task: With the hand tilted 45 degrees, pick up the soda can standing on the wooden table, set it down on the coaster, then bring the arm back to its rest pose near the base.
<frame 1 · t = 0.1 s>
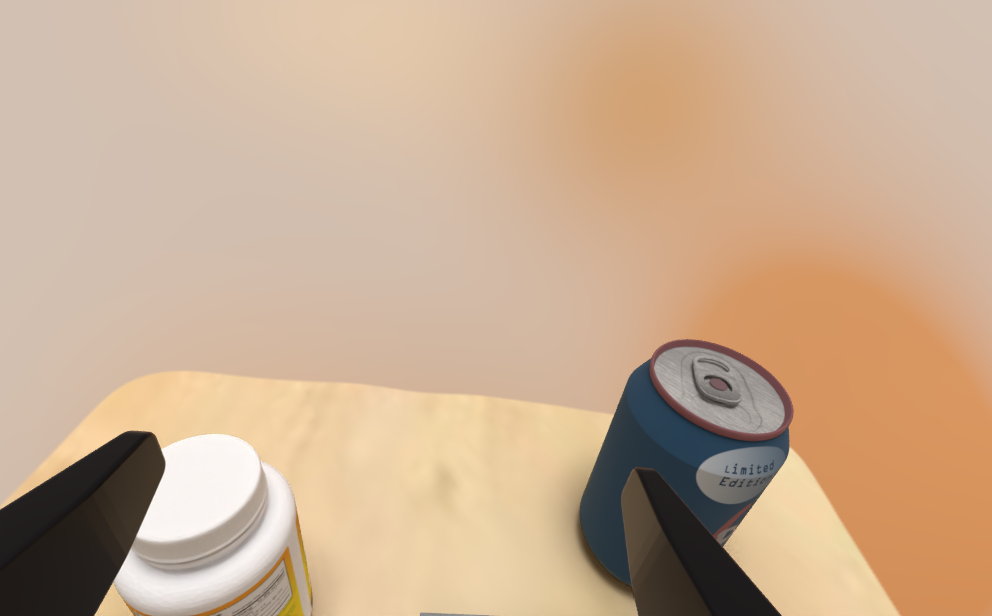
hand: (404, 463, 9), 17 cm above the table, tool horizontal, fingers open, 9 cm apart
soda can: (634, 540, 27), on the table
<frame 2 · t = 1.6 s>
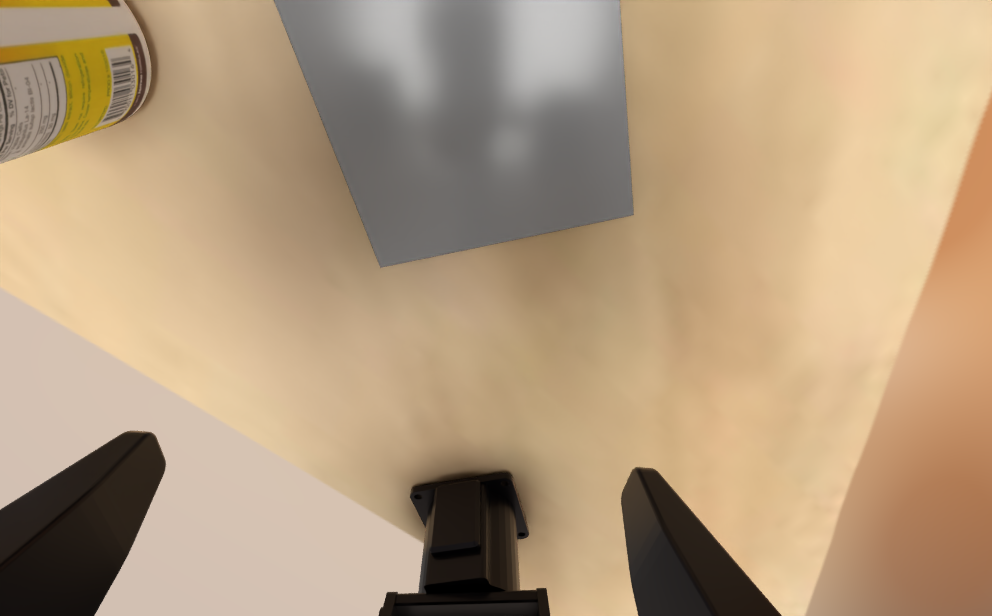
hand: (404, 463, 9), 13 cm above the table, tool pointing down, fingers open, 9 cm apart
supplement bottle: (78, 39, 17), on the table
coaster: (472, 104, 18), on the table
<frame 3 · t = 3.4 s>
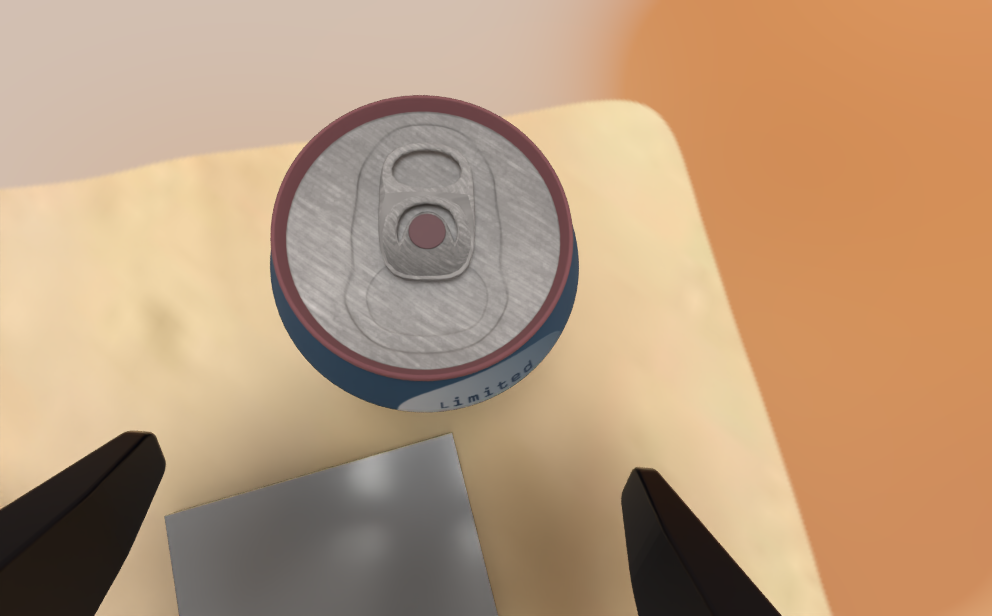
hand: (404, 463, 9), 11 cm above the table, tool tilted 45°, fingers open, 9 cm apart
soda can: (437, 327, 21), on the table
coaster: (348, 615, 18), on the table
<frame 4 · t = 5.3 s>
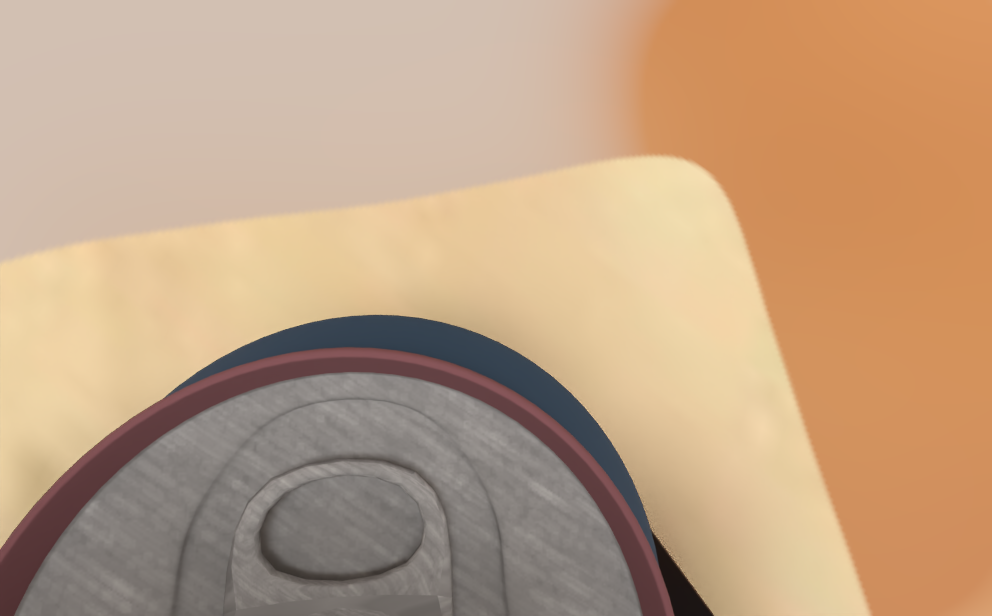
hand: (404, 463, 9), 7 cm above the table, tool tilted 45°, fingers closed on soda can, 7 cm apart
soda can: (419, 473, 15), on the table, touching gripper
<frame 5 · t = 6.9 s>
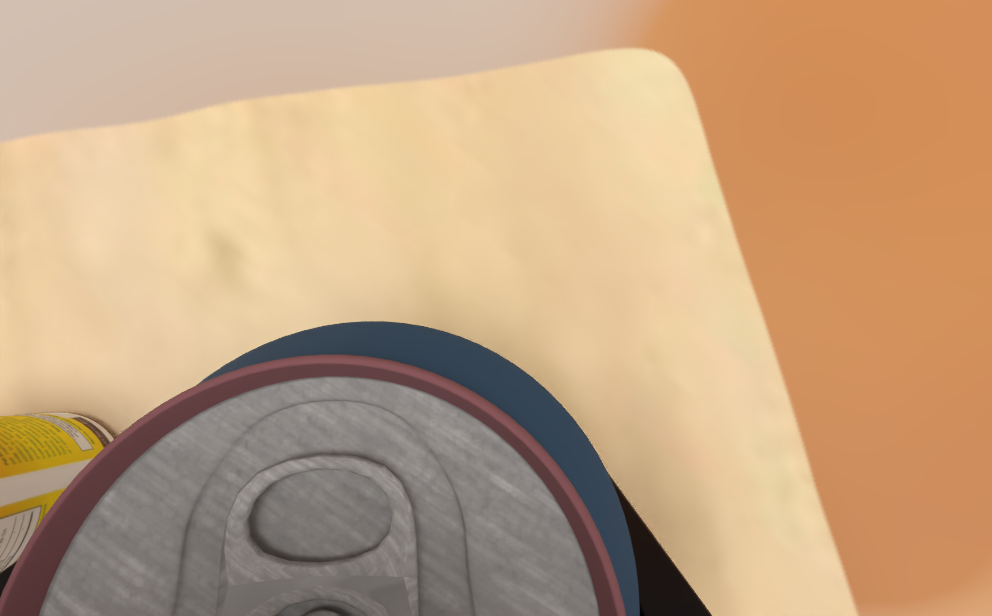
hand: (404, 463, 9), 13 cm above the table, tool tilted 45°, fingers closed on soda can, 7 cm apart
supplement bottle: (63, 479, 20), on the table
soda can: (439, 468, 16), point 5 cm above the table, touching gripper
when the fingers open (8 cm above the table, at t = 8.6 s): soda can stays where it is, resting on coaster.
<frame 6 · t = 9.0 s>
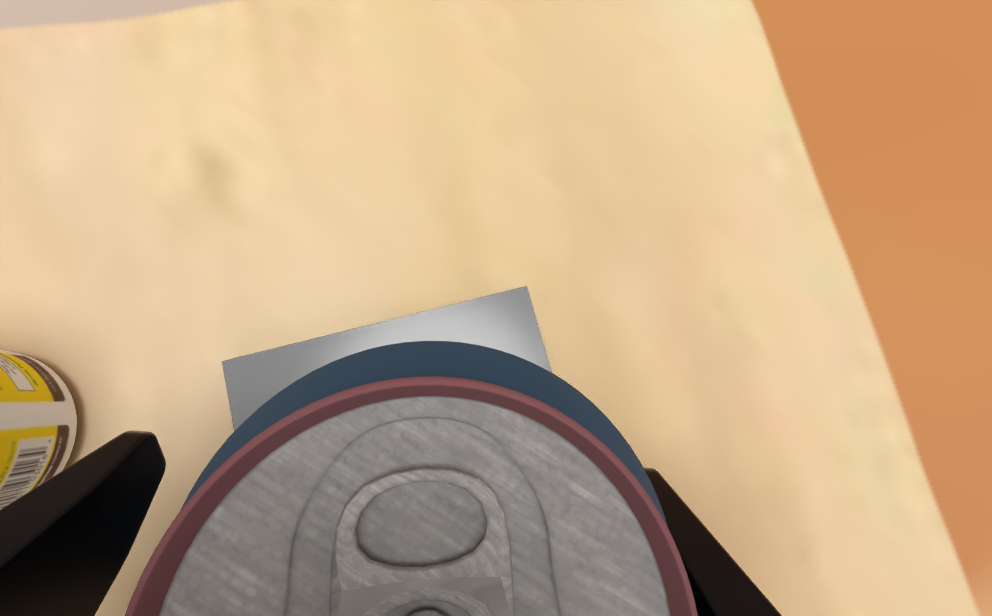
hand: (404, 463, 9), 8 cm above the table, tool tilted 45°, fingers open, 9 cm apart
supplement bottle: (1, 435, 16), on the table
soda can: (439, 474, 16), resting on coaster
coaster: (418, 473, 17), on the table
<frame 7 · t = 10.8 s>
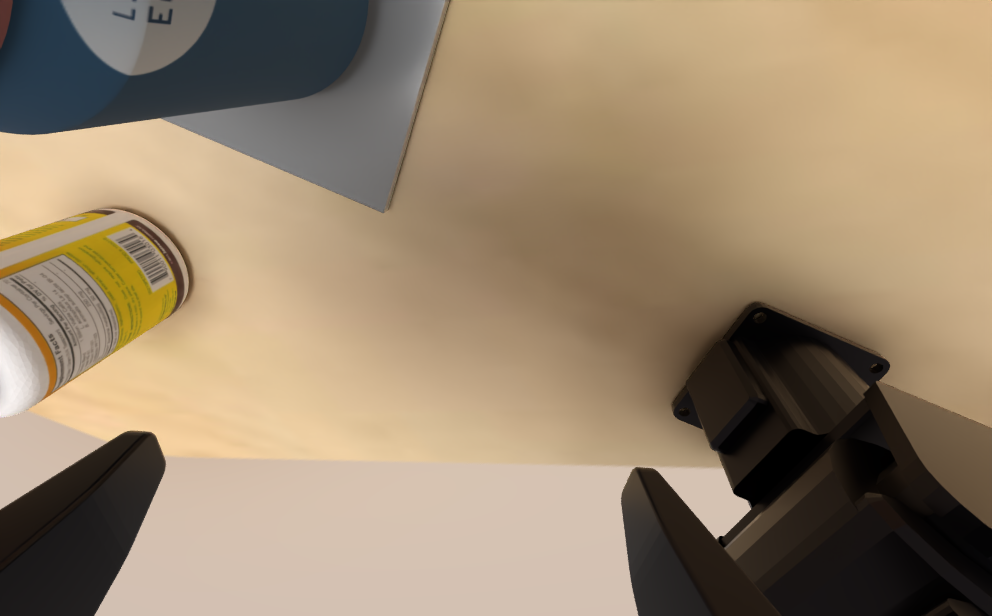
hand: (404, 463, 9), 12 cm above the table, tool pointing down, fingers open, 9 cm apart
supplement bottle: (143, 260, 23), on the table
coaster: (283, 7, 17), on the table
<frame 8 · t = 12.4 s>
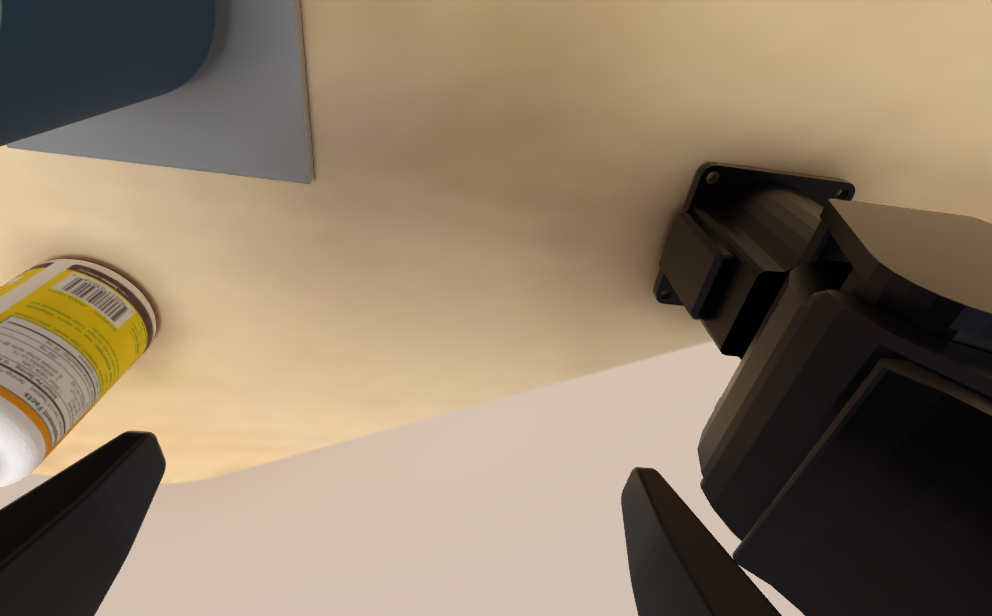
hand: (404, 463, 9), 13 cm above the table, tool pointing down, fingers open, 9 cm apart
supplement bottle: (102, 303, 23), on the table
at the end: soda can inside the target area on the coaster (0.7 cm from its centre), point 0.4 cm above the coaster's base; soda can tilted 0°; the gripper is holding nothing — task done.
